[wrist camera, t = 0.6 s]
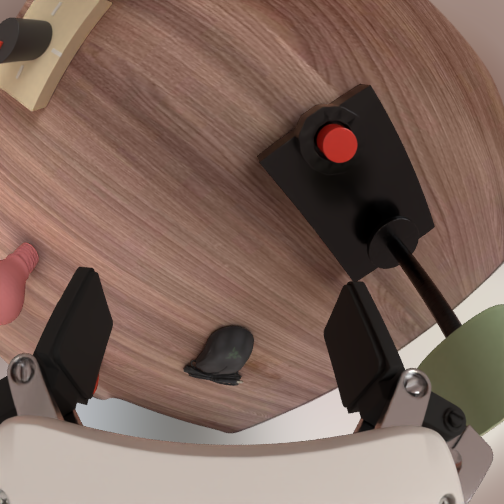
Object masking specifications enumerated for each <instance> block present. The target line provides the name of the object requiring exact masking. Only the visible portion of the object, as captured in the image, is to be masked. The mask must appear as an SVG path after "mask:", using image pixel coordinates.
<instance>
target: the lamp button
mask: <svg viewBox="0 0 504 504" xmlns="http://www.w3.org/2000/svg"><path fill="white" fill-rule="evenodd" d="M317 146H318V148H319V150H320V151H321V152H322V153H323V154H324V155H325V156H326V157H327V158H328V159H329V160H331V161H333V162H336V163H343V162H346V161H348V160H350V159H351V158H352V157H353V156H354V154H355V153H356V150H357V139H356V137H355V135H354V134H353V133H352V132H351V131H350V130H349V129H347V128H345V127H343V126H341V125H338V124H328V125H326V126H324V127H323V128H322V129H321V130H320V131H319V133H318V135H317Z"/></svg>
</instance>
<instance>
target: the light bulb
mask: <svg viewBox="0 0 504 504" xmlns="http://www.w3.org/2000/svg"><path fill="white" fill-rule="evenodd" d="M38 260H39V259H38V254H37V252H36V250H35V248H34V247H33V246H32V245H30V244H29V243H23V244H22V245H21V246H19V247H18V248H17V249H16V250H15V251H14V253H13V254H9V255H8V256H7V257H6V259H3V260H0V325H5V324H8V323H11V322H12V321H14V320H15V319H16V318H17V317H18V315H19V314H20V312H21V310H22V307H23V303H24V296H25V283H26V280H27V279H28V277H29V273H31V272H32V271H33V269H34V268H35V266H36V265H37V264H38Z"/></svg>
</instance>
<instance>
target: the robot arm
mask: <svg viewBox="0 0 504 504" xmlns="http://www.w3.org/2000/svg"><path fill="white" fill-rule="evenodd" d="M112 326H113V320H112V317H111V314H110V311H109V308H108V305H107V302H106V299H105V295H104V292H103V289H102V285H101V282H100V278H99V275H98V273H97V272H95V271H94V269H93V268H87V267H78V269H77V270H76V272H75V274H74V275H73V277H72V279H71V280H70V282H69V284H68V286H67V288H66V289H65V291H64V293H63V295H62V297H61V299H60V300H59V302H58V303H57V305H56V307H55V309H54V311H53V313H52V315H51V317H50V319H49V321H48V323H47V325H46V327H45V329H44V331H43V333H42V336H41V338H40V340H39V342H38V344H37V347H36V349H35V351H34V354H33V355H31V354H29V353H22V354H19V355H17V356H15V357H14V358H13V359H12V360H11V362H10V364H9V366H8V370H7V376H6V377H4V378H3V379H1V380H0V504H468V503H469V501H470V499H471V498H472V496H473V495H474V493H475V491H476V490H477V488H478V487H479V485H480V483H481V482H482V480H483V478H484V476H485V475H486V472H487V471H488V469H489V467H490V465H491V463H492V461H493V452H492V449H491V447H490V446H489V445H488V444H487V443H486V442H485V441H484V440H483V439H482V437H481V436H480V435H479V434H478V433H477V432H476V431H475V430H474V429H473V428H472V427H471V426H470V425H467V426H466V417H465V414H464V412H463V411H462V410H461V409H460V408H459V407H458V406H456V405H455V404H453V403H451V402H449V401H448V400H446V399H444V398H442V397H441V396H439V395H437V394H436V393H434V392H432V391H431V382H430V380H429V378H428V376H427V375H426V374H425V373H424V372H422V371H421V370H419V369H416V368H409V369H406V370H405V368H404V366H403V363H402V361H401V359H400V356H399V354H398V352H397V349H396V347H395V345H394V343H393V340H392V338H391V336H390V334H389V332H388V330H387V327H386V325H385V323H384V321H383V319H382V317H381V315H380V313H379V311H378V309H377V307H376V305H375V303H374V301H373V299H372V297H371V295H370V293H369V291H368V289H367V287H366V285H365V284H364V282H357V281H350V282H348V283H347V285H344V286H343V288H342V290H341V293H340V295H339V297H338V300H337V302H336V304H335V307H334V309H333V311H332V314H331V316H330V318H329V320H328V323H327V325H326V327H325V329H324V339H325V342H326V346H327V349H328V352H329V356H330V360H331V363H332V367H333V370H334V374H335V378H336V381H337V385H338V389H339V392H340V396H341V400H342V404H343V406H344V407H347V410H348V413H354V412H360V416H361V419H360V421H359V423H358V425H357V427H356V429H355V431H354V433H353V434H348V435H342V436H337V437H330V438H323V439H316V440H308V441H300V442H290V443H278V444H260V445H209V444H191V443H179V442H169V441H160V440H153V439H145V438H139V437H133V436H127V435H122V434H117V433H112V432H107V431H103V430H98V429H94V428H90V427H86V426H83V425H82V422H81V421H80V419H79V417H78V415H77V412H76V410H75V408H76V404H77V403H81V404H85V405H87V403H88V399H91V398H92V396H93V393H94V389H95V385H96V381H97V377H98V374H99V370H100V366H101V363H102V359H103V356H104V353H105V349H106V346H107V343H108V340H109V336H110V333H111V330H112Z"/></svg>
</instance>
